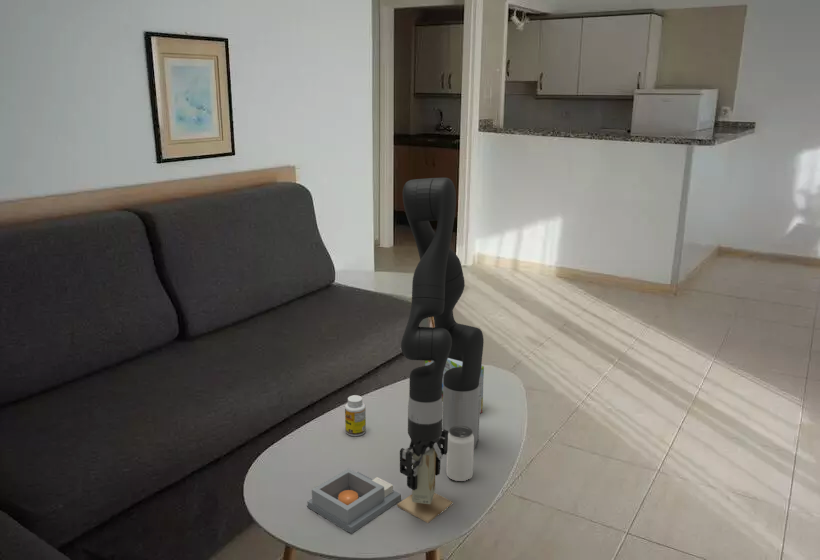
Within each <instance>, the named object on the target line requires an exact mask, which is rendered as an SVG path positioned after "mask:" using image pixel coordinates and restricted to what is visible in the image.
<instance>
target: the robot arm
mask: <svg viewBox="0 0 820 560" xmlns="http://www.w3.org/2000/svg"><path fill="white" fill-rule="evenodd" d="M402 203H403V208H404V211H405V215H406V218H407V221H408V224H409V226H410V229H411V233H412V235H413V238H414V242H415V244H416V248H417V251H418V255H419V262H418V263H417V265H416V267H415V269H414V272H413V277H412V285H411V287H412V289H411V305H410V306H411V307H410V311H409V317H408V319H407V323H406V326H405V329H404V333H403V335H402V338H401V343H400V347H401V348H400V349H401V352H402V355H403V356H404V358H405V359H407V360H409V361H424V362H425V361H434V362H433V363H432V364H430V365H427V366H425V365H423V366H418V367H415V368H413V369H412V370H411V371H410V372H409V373H410V374H409V388H408V389H409V393H408V394H409V395H408V402H407V403H408V405H407V435H408V436H409V438H410V443H409V446H408V447H407V448H403V447H402V448H400V450H399V473H400V474H402V475H403V476H406V486H407V487H408V488H409V489H411V490H416V489H417V473H418V470H419V467H421V466H422V465H423V455H424V454H427V453H428V452H429V449H430V448H433V449H434V450H435V455H436V468H435V477H437V476H439V475H440V473H441V472H440V471H441V461H442V459H443V456H445V455H446V456H447V451H448V434H449V430H450V428H452V427H454V426H466V427H469V428H470V429H472V431H473V433H472V434H473V436H474V449H476V447H477V445H478V442H479V440H480V439H479V437H480V434H479V433H480V416H481V415H480V414H481V413H480V409H479V408H478V400H479V379H480V374H481V365H482V366H483V363H482V362H483V352H484V344H485V343H484V342H485V341H484V333H483V332H482V330H481V328H479V327H476V326H471V325H467V324H463V323H458V322H456V319H455V317H454V308H455V306H456V305H457V303H458V302H459V300H460V298H461V297H462V294H463V293H464V290H465V286H466V284H465V277H464V272H463V268H462V262H461V260H460V258H459V257H458V255H457V254H456V252H455V251H454V250H453V249H452V248H451V243H452V236H453V229H454V224H455V223H454V222H455V216H456V212H457V211H456V210H457V208H456V207H457V193H456V188H455V185H454V182H453V180H452V179H450V177H449V178H448V177H429V178H417V179H416V178H414V179H410V180H408V181H406V182H405V184H404V185H403V187H402ZM430 221H431V222H433V221H434V222H435V221H437V224H436V229H435V231H434V228H433V226H432V225H431V223H430ZM427 318H433V323H434V327H431V326H430V327H429V326H420V324H421V322H422V321H423V320H425V319H427ZM448 358H450V359H454V360H458V361H462V367H456V368H452V369H449V370H448V371H446V372H445V374H444V378H443V372H444V368H445V365H446V362H447V359H448ZM442 378H443V401H442ZM413 453H415V454H416V455H417V456H418V457H419V456H420V454H421V456H420V459H419V461H415V460H413ZM413 464H415V467H414V469H413Z"/></svg>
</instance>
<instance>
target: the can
mask: <svg viewBox="0 0 820 560" xmlns="http://www.w3.org/2000/svg"><path fill="white" fill-rule="evenodd" d="M472 433H473V431H472V429H470V428H469V427H466V426H454V427H452V428H450V430H449V434H448V451H447V454H446V477H448V479H450V480H451V479H452V480H451V481H453V480H455V481H454V482H457V481H464V482H467V481H469V480H470V479H471V478H472V477H473V474H474V452H475V451H474V449H475V448H474V436H473V434H472ZM468 479H469V480H468ZM466 480H467V481H466Z"/></svg>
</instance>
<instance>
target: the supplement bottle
mask: <svg viewBox="0 0 820 560" xmlns="http://www.w3.org/2000/svg"><path fill="white" fill-rule="evenodd" d="M366 419H367V417H366V404H365V403H364V402H363V397H362V396H360V395H357V394H354V395H349V396H348V397H347V403H346V404H345V405H344V420H345V421H344V423H345V424H344V426H345V432H346V434H347V435H349V436H351V437H360V436H363V435H364V434H365V432H366V431H367V430H366V429H367V428H366V424H367V423H366V422H367V421H366Z"/></svg>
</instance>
